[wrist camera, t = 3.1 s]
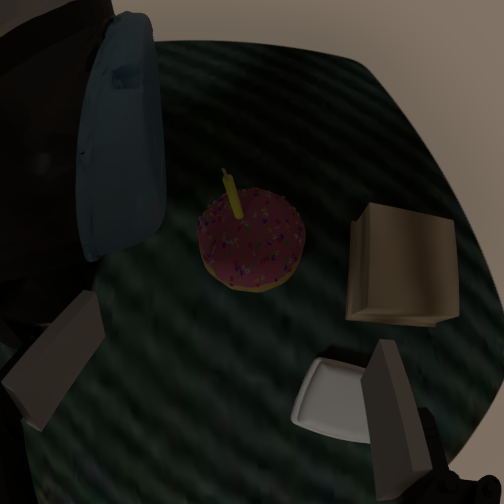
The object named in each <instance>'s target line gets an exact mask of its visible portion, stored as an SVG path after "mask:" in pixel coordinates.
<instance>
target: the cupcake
mask: <svg viewBox="0 0 504 504" xmlns="http://www.w3.org/2000/svg"><path fill="white" fill-rule="evenodd" d="M222 171H223V174H224V177H223V179H222V180H223V183H224V186H225V189H226V192H227V193H225V194H223V195H224V196H223V195H222V197H220V198H219V199H218V200H216V201H213V202H212V203H213V204H212V203H211V205H208V208H206V209H207V210H206V209H205V210H206V211H204V213H203V215H202V216H200V217H199V220H200V222H198V228H197V230H196V232H197V237H198V240H199V247H200V253H201V256H202V259H203V262H204V265H205V267H206V269H207V270H208V271H209V272H210V273H211V274H212V275H213V276H214V277H215V278H217V279H218V280H219V281H221V282H223V283H224V284H225V285H226V286H228V287H229V288H231V289H234V290H241V291H249V292H263V291H266V290H269V289H271V288H274V287H277V286H279V285H281V284H283V283H284V282H286V281H287V280H288V279H289V278H290V276H291V275H292V274H293V273H294V271H295V270H296V268H297V266H298V264H299V262H300V259H301V256H302V252H303V248H304V244H305V226H304V223H303V221H302V219H301V218H300V215H299V213H297V212H296V208H295V207H292V206H291V205H290V204H289V203H288V202H287V201H286V200H285V197H284V196H281V197H280V196H279V195H277V194H275V193H274V192H270V191H267V190H262V189H259V188H254V187H252V188H246V189H237V190H236V187H235V183H234V180H233V177H232V176H231V175H227V172H226V170H225V169H224V168H222ZM253 188H254V189H253ZM283 197H284V198H283ZM200 218H201V219H200Z"/></svg>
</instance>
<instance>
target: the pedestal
mask: <svg viewBox="0 0 504 504" xmlns="http://www.w3.org/2000/svg"><path fill="white" fill-rule="evenodd" d="M457 316H459V281H458V262H457V249H456V239H455V229H454V221H453V220H449V219H445V218H441V217H437V216H432V215H428V214H423V213H419V212H414V211H410V210H405V209H400V208H395V207H390V206H385V205H380V204H375V203H369V204H368V206H367V207H366V209H365V210H364V212H363V213H362V215H361V216H360V218H359V219H358V220H357V221H352V222H351V232H350V258H349V276H348V291H347V304H346V316H345V320H354V321H363V322H374V323H385V324H396V325H409V326H422V327H436V322H440V321H443V320H447V319H450V318H454V317H457Z"/></svg>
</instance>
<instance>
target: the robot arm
mask: <svg viewBox="0 0 504 504" xmlns="http://www.w3.org/2000/svg"><path fill="white" fill-rule="evenodd" d="M166 191H167V189H166V165H165V149H164V135H163V122H162V110H161V97H160V86H159V75H158V65H157V56H156V49H155V45H154V40H153V29H152V25H151V22H150V19H149V18H148V16H147V15H145V14H143V13H131V12H129V11H125V12H123V13H121V14H119V15H117V16H116V15H115V14H114V11H113V6H112V2H111V0H0V342H1V343H3V344H4V345H6V346H8V347H10V348H13V349H17V352H16V353H15V354H14V355H13V356H12V358H10V359H9V361H8V362H7V363H6V364H5V365H4V366H3V368H2V369H1V370H0V504H38V501H37V497H36V494H35V490H34V486H33V482H32V478H31V473H30V469H29V464H28V458H27V453H26V447H25V441H24V434H23V427H22V423H21V421H20V420H21V419H22V417H24V419H25V420H26V422H27V423H28V424H29V425H30V426H32V427H34V428H36V429H37V430H39V431H41V432H42V430H43V429H44V427H45V425H46V424H47V422H48V421H49V419H50V417H51V416H52V414H53V413H54V411H55V409H56V408H57V406H58V405H59V403H60V402H61V400H62V399H63V397H64V396H65V394H66V393H67V391H68V390H69V388H70V387H71V385H72V384H73V382H74V381H75V379H76V378H77V376H78V375H79V373H80V372H81V370H82V369H83V367H84V366H85V365H86V363H87V362H88V360H89V359H90V357H91V356H92V355H93V353H94V352H95V350H96V349H97V347H98V346H99V345H100V343H101V342H102V340H103V339H104V338H105V332H104V328H103V323H102V319H101V314H100V309H99V304H98V299H97V293H95V292H91V291H87V290H84V282H85V267H84V262H88V261H89V262H94V261H98V260H99V259H100V258H101V256H103V255H106V254H109V253H112V252H115V251H118V250H121V249H124V248H127V247H131V246H134V245H137V244H140V243H142V242H144V241H145V240H146V239H148V238H150V237H151V236H152V235H153V234H154V233H155V232H156V230H157V229H158V228H159V226H160V225H161V223H162V221H163V218H164V215H165V210H166ZM360 382H361V387H362V393H363V399H364V405H365V411H366V417H367V423H368V430H369V437H370V444H371V452H372V459H373V468H374V477H375V486H376V497H377V501H382V500H390V499H395V498H397V497H398V496H399V495H401V494H402V496H403V500H402V501H401V502H399V503H398V504H500V497H501V484H500V482H499V480H498V479H497V478H496V477H495V476H493V475H486V476H484V477H482V478H481V479H480V480H478V481H472V480H463V479H460V478H459V476H458V475H457V474H456V473H455V472H453V471H450V470H449V467H448V464H447V461H446V457H445V453H444V449H443V446H442V442H441V439H440V438H439V436H440V435H439V432H438V429H437V425H436V422H435V419H434V416H433V415H432V414H431V412H430V411H429V410H428V408H427V407H425V408H417V407H416V404H415V400H414V397H413V394H412V391H411V387H410V384H409V381H408V378H407V375H406V372H405V369H404V366H403V363H402V360H401V357H400V354H399V352H398V349H397V346H396V343H395V340H384V339H379V342H378V344H377V346H376V348H375V350H374V353H373V355H372V357H371V359H370V361H369V363H368V365H367V367H366V370H365V372H364V374H363V376H362V378H361V380H360Z"/></svg>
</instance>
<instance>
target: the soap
mask: <svg viewBox="0 0 504 504" xmlns="http://www.w3.org/2000/svg"><path fill="white" fill-rule="evenodd" d="M365 370H366V369H365V368H362V367H359V366H356V365H352V364H348V363H345V362H341V361H336V360H332V359H327V358H322V357H317V358H315V359H314V360H313V362H312V364H311V365H310V367H309V369H308V371H307V373H306V375H305V377H304V379H303V383H302V386H301V388H300V391H299V393H298V396H297V397H296V400H295V403H294V407H293V410H292V414H291V420H292V422H293V423H294V424H296V425H299V426H301V427H303V428H306V429H308V430H311V431H314V432H317V433H320V434H323V435H326V436H330V437H334V438H338V439H343V440H348V441H354V442H361V443H370V437H369V430H368V423H367V417H366V411H365V405H364V399H363V393H362V387H361V382H360V380H361V378H362V376H363V374H364V372H365Z"/></svg>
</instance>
